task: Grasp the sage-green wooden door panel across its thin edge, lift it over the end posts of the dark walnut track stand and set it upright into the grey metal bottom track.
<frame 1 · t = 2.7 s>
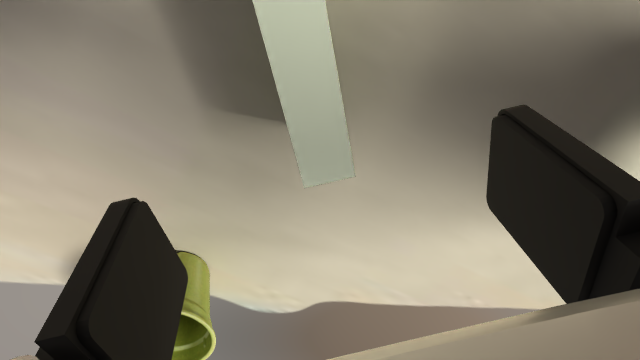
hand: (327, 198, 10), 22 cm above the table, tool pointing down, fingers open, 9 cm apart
door panel: (293, 25, 29), on the table
plant pot: (181, 269, 41), on the table
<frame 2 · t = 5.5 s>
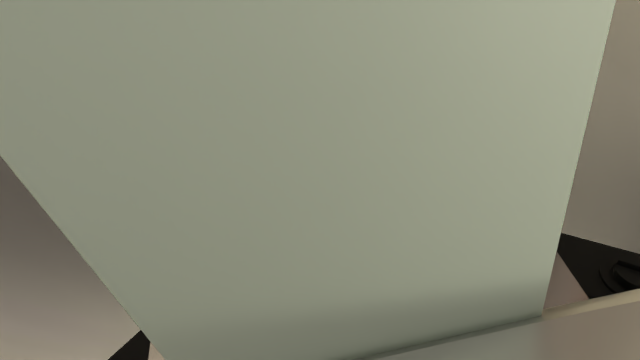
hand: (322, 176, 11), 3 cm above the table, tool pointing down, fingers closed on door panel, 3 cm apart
door panel: (312, 133, 13), on the table, touching gripper
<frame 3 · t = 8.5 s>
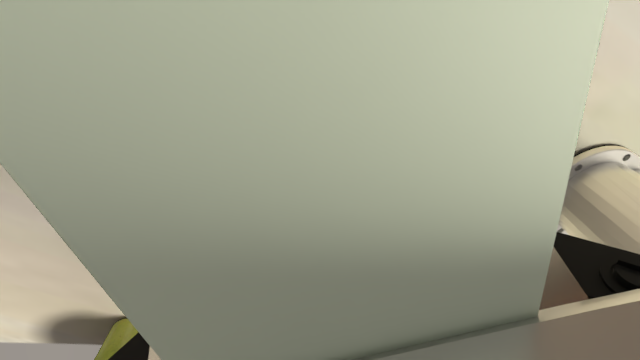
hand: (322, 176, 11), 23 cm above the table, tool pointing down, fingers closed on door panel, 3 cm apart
door panel: (311, 133, 13), point 20 cm above the table, touching gripper
plant pot: (137, 329, 49), on the table
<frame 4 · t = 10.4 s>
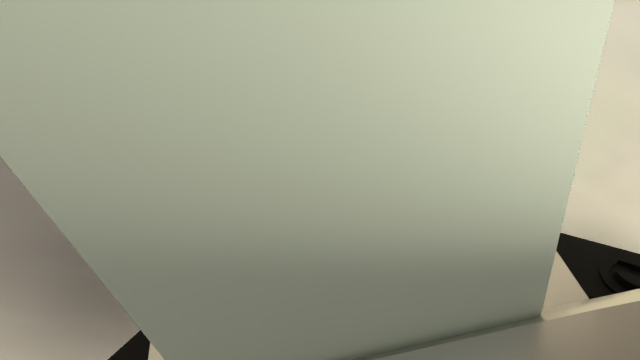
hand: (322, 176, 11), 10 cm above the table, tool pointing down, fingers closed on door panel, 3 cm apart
door panel: (311, 132, 13), point 8 cm above the table, touching gripper
when the fingers open (5 cm above the table, at t = 11.7 s): door panel drops 1 cm, resting on track stand.
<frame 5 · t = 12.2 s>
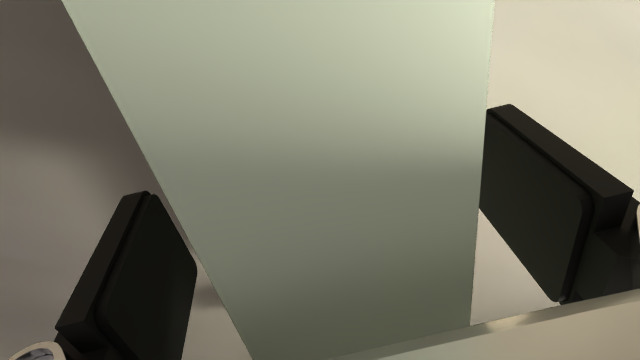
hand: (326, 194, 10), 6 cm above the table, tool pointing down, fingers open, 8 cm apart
door panel: (308, 118, 15), point 1 cm above the table, touching track stand
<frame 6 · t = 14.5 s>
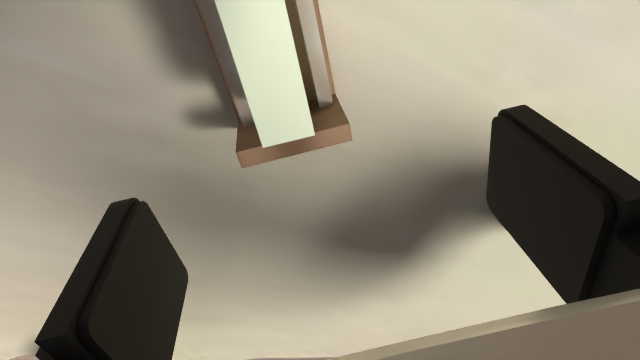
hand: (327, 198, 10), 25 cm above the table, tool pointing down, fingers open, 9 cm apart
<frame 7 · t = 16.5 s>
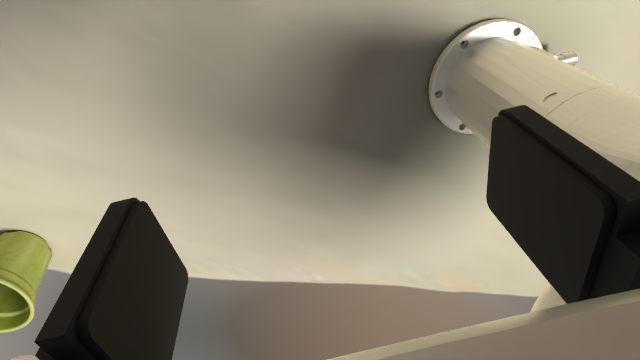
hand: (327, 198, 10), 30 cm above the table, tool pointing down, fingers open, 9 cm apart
plant pot: (25, 247, 47), on the table
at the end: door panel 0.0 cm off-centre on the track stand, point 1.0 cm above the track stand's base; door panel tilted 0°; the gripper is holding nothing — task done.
